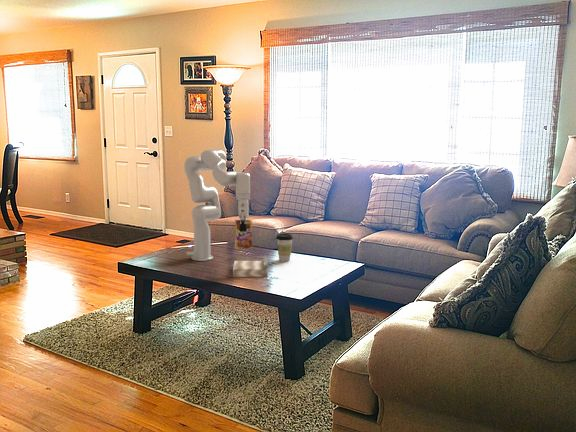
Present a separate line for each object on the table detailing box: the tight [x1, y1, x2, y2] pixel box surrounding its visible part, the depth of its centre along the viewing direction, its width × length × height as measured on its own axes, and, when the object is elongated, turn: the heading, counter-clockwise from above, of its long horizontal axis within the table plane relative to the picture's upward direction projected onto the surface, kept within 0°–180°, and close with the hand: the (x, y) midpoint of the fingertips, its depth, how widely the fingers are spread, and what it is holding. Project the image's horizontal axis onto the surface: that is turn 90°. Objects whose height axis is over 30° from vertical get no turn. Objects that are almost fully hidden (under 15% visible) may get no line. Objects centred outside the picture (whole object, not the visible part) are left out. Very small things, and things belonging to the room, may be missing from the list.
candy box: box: [234, 219, 253, 250], centre depth 304 cm, size 9×4×15 cm, turn 102°
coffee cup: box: [275, 233, 294, 263], centre depth 333 cm, size 10×10×15 cm
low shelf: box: [232, 255, 268, 278], centre depth 307 cm, size 18×18×6 cm
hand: (243, 230), depth 304 cm, fingers closed on candy box, 4 cm apart
